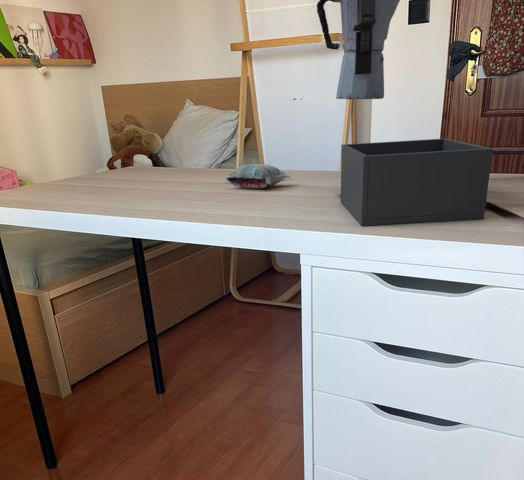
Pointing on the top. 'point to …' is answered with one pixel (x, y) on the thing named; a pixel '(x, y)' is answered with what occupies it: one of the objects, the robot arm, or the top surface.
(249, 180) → the packaged food
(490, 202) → the top surface
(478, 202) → the tub
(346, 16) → the moka pot
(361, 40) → the robot arm
